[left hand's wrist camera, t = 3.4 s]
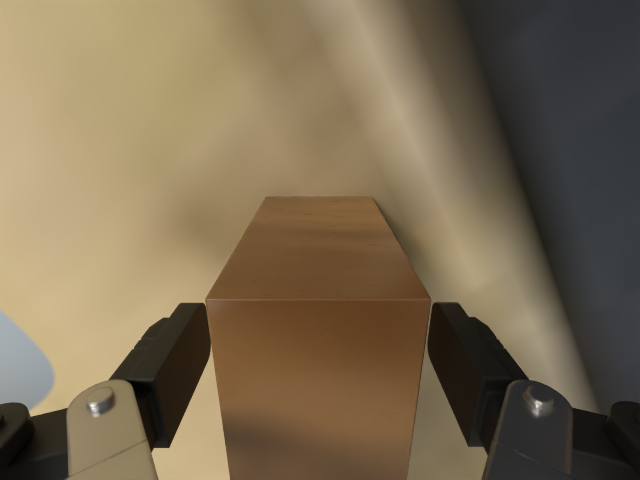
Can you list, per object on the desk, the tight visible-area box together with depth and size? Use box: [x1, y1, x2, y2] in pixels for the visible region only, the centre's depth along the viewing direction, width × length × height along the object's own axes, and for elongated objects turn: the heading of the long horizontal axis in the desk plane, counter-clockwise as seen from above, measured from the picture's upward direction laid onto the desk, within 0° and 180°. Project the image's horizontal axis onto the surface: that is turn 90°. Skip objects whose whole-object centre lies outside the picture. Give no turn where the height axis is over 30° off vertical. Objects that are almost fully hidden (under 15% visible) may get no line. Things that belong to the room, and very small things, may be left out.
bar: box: [205, 197, 431, 480], centre depth 15 cm, size 24×5×9 cm, turn 0°
